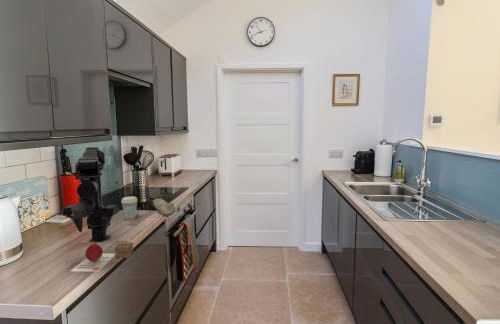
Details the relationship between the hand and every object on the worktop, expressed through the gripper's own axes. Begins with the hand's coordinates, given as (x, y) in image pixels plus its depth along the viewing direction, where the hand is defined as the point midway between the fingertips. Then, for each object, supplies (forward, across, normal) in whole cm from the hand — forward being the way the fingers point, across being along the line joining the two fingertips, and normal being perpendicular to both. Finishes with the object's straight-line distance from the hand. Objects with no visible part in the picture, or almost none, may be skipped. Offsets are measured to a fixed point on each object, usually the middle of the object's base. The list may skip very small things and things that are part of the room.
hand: (92, 232), depth 106 cm
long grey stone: (+13, +5, +71) cm, 72 cm away
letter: (+12, 0, 0) cm, 12 cm away
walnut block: (+13, +9, +6) cm, 17 cm away
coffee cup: (+13, -8, +51) cm, 53 cm away
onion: (+12, 0, 0) cm, 12 cm away
